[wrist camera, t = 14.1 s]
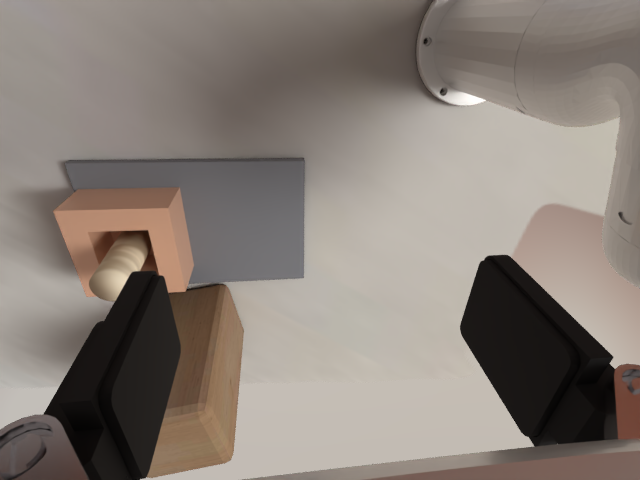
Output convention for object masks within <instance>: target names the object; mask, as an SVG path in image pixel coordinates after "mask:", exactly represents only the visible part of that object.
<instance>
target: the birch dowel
mask: <svg viewBox="0 0 640 480" xmlns="http://www.w3.org/2000/svg"><path fill="white" fill-rule="evenodd" d="M151 247H152V244H151V240H150V236H149V232H148V230H133V231H122V232H121V233H120V235H119V236H118V238H117V239H116V241H115V242H114V244H113V245H112V247H111V248H110V250H109V251H108V253H107V254H106V256H105V257H104V259H103V260H102V262H101V263H100V265H99V266H98V268H97V269H96V271H95V272H94V274H93V275H92V277H91V278H90V280H89V287H90V290H91V291H92V293H93V294H94V295H96V296H97V297H99V298H101V299H103V300H107V301H116V299H117V297H118V296H119V294H120V292H121V290H122V288H123V287H124V285H125V283H126V281H127V279H128V278H129V276H130V274H131V273H132V272H134V271H140V270H141V268H142V266H143V264H144V262H145V260H146V258H147V255H148V253H149V251H150V249H151Z"/></svg>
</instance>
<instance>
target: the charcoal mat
mask: <svg viewBox="0 0 640 480" xmlns="http://www.w3.org/2000/svg"><path fill="white" fill-rule="evenodd" d="M304 162H305V161H304V158H269V159H168V160H69V161H67V162H66V163H64V164H65V167H66V170H67V172H68V175H69V178H70V181H71V184H72V187H73V190H74V192H76V191H77V190H78V189H117V188H171V187H180V192H181V197H182V203H183V208H184V213H185V219H186V224H187V230H188V235H189V241H190V246H191V252H192V257H193V262H194V267H193V270H192V273H191V276H190V280H189V283H188V284H194V283H214V282H235V281H255V280H276V279H296V278H304Z"/></svg>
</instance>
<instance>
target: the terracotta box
mask: <svg viewBox="0 0 640 480" xmlns="http://www.w3.org/2000/svg"><path fill="white" fill-rule="evenodd" d="M53 212H54V215H55V217H56V220H57V222H58V225H59V227H60V230H61V232H62V235H63V238H64V240H65V243H66V245H67V248H68V250H69V253H70V255H71V258H72V261H73V263H74V266H75V268H76V271H77V273H78V276H79V278H80V281H81V283H82V286H83V289H84V291H85V294H86V296H87V297H93V296H96V295H94V294H93V293H92V291H91V290H90V287H89V280H90V278H91V277H92V275H93V274H94V272H95V271H96V269H97V268H98V266H99V265H100V263H101V262H102V260H103V259H104V257H105V256H106V254H107V253H108V251H109V250H110V248H111V247H112V245H113V244H114V242H115V241H116V239H117V238H118V236H119V235H120V233H121V232H122V231H133V230H148V232H149V236H150V240H151V244H152V247H151V249H150V251H149V253H148V255H147V258H146V260H145V262H144V264H143V266H142V268H141V270H140V271H156V272H157V274H158V276H160V275H162V276H164V278H165V281H166V285H167V290H168V293H171V292H186V289H187V286H188V283H189V280H190V276H191V273H192V270H193V267H194V262H193V257H192V252H191V246H190V241H189V235H188V230H187V224H186V219H185V213H184V208H183V203H182V197H181V192H180V187H171V188H117V189H78V190H77V191H76V192H74V193H73V194H72V195H71V196H70V197H69V198H67V199H66V200H65V201H64V202H63V203H62V204H61V205H59V206H58V207H57V208H56V209H55V210H54V211H53Z"/></svg>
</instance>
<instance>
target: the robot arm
mask: <svg viewBox="0 0 640 480" xmlns="http://www.w3.org/2000/svg"><path fill="white" fill-rule="evenodd" d="M425 38H426V43H425V44H424V43H423V41H424V39H425ZM416 59H417V66H418V70H419V73H420V76H421V79H422V81H423V82H424V84H425V86H426V87H427V89H428V90H429V91H430V92H431V93H432V94H433V95H434V96H435V97H437V98H439V99H440V100H442V101H444V102H446V103H448V104H452V105H456V106H472V105H477V104H480V103H483V102H485V101H489V102H492V103H495V104H498V105H500V106H503V107H506V108H509V109H512V110H514V111H517V112H520V113H523V114H526V115H529V116H531V117H534V118H537V119H540V120H543V121H546V122H549V123H552V124H555V125H560V126H565V127H585V126H592V125H597V124H601V123H605V122H607V121H610V120H613V119H616V118H619V117H620V123H619V131H618V136H617V142H616V157H615V162H614V168H613V173H612V178H611V184H610V189H609V194H608V200H607V205H606V210H605V216H604V222H603V231H602V244H603V249H604V253H605V255H606V258H607V260H608V262H609V263H610V265H611V266H612V267H613V269H614V270H615V271H616V272H617V273H618V274H619V275H620V276H621V277H623V278H624V279H625V280H627V281H628V282H630V283H631V284H633V285H634V286H636V287H638V288H640V0H434V1H433V2H432V4H431V5H430V7H429V9H428V10H427V12H426V14H425V16H424V18H423V21H422V24H421V27H420V29H419V34H418V39H417V45H416ZM441 89H442V92H441V93H440V90H441ZM460 330H461V334H462V336H463V338H464V340H465V341H466V343H467V345H468V346H469V348H470V349H471V351H472V353H473V354H474V356H475V358H476V359H477V361H478V363H479V364H480V366H481V367H482V369H483V371H484V372H485V374H486V376H487V377H488V379H489V380H490V382H491V384H492V385H493V387H494V388H495V390H496V392H497V393H498V395H499V397H500V398H501V400H502V402H503V403H504V405H505V406H506V408H507V410H508V411H509V413H510V414H511V416H512V418H513V419H514V421H515V422H516V424H517V426H518V427H519V429H520V431H521V432H522V433H523V434H524V435H525V436H527V437H529V438H530V440H531V441H532V443H533V444H534V446H535V447H528V448H518V449H508V450H499V451H490V452H480V453H471V454H462V455H453V456H444V457H435V458H426V459H417V460H408V461H399V462H390V463H381V464H372V465H364V466H355V467H346V468H338V469H329V470H320V471H311V472H303V473H294V474H286V475H277V476H269V477H260V478H253V479H244V480H640V365H634V364H624V365H620V366H618V367H617V368H616V369H614V368H613V367H612V366H611V365H610V364H609V363H610V362H611V360H612V359H613V356H612V355H611V354H610V353H609V352H608V351H607V350H605V348H604V347H603V346H602V345H601V344H600V343H599V342H598V341H597V340H596V339H595V338H593V337H592V336H591V335H590V334H589V333H588V332H587V331H586V330H585V329H584V328H583V327H582V326H581V325H580V324H579V323H578V322H577V321H576V320H575V319H574V318H573V317H572V316H571V315H570V314H569V313H568V312H567V311H566V310H565V309H563V307H562V306H561V305H559V304H558V303H557V302H556V301H555V300H554V299H553V298H552V297H551V296H550V295H549V294H548V293H547V292H546V291H545V290H544V289H543V288H542V287H541V286H540V285H539V284H538V283H537V282H536V281H535V280H534V279H533V278H532V277H531V276H529V274H528V273H526V272H525V271H524V270H523V269H522V268H521V267H520V266H519V265H518V264H517V263H516V262H515V261H514V260H513V259H512V258H511V257H510V256H508V255H493V256H487V257H486V258H485V260H484V261H481V262H480V264H479V267H478V270H477V273H476V277H475V280H474V283H473V286H472V289H471V293H470V296H469V299H468V302H467V305H466V309H465V312H464V315H463V318H462V321H461V325H460ZM180 354H181V344H180V340H179V335H178V331H177V327H176V323H175V319H174V315H173V310H172V306H171V302H170V298H169V294H168V290H167V285H166V281H165V278H164V276H162V275H160V276H158V274H157V272H156V271H134V272H132V273H131V274H130V276H129V278H128V279H127V281H126V283H125V285H124V287H123V288H122V290H121V292H120V294H119V296H118V297H117V299H116V301H115V303H114V305H113V306H112V308H111V310H110V312H109V314H108V315H107V317H106V319H105V321H100V322H99V323H97V324H96V325H95V327H94V328H93V330H92V331H91V333H90V335H89V337H88V338H87V340H86V342H85V343H84V345H83V347H82V349H81V350H80V352H79V354H78V356H77V357H76V359H75V361H74V362H73V364H72V366H71V368H70V369H69V371H68V373H67V375H66V376H65V378H64V380H63V381H62V383H61V385H60V387H59V388H58V390H57V392H56V394H55V395H54V397H53V399H52V400H51V402H50V404H49V406H48V407H47V409H46V411H45V413H44V414H43V415H33V416H29V417H25V418H21V419H19V420H17V421H15V422H13V423H10V424H8V425H7V426H5V427H4V428H2V429H1V430H0V480H140V479H142V478H146V477H147V475H148V473H149V470H150V466H151V463H152V459H153V455H154V452H155V448H156V444H157V440H158V437H159V433H160V429H161V426H162V422H163V418H164V414H165V411H166V407H167V403H168V400H169V396H170V392H171V388H172V385H173V381H174V377H175V374H176V370H177V366H178V362H179V359H180Z"/></svg>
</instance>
